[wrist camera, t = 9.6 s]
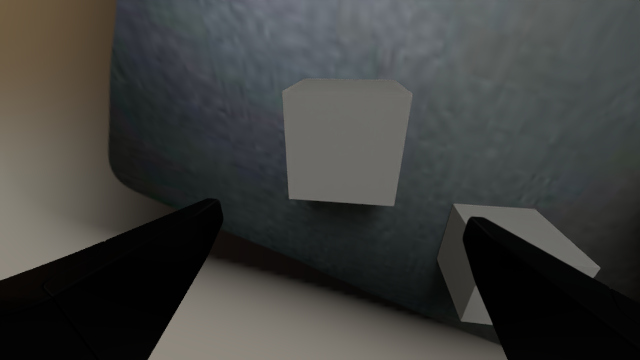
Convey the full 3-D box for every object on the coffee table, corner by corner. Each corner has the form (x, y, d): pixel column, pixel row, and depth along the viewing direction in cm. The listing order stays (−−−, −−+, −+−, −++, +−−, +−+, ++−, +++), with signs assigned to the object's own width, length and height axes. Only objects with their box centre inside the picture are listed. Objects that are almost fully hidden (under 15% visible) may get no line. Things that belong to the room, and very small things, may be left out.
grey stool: (534, 209, 21) (600, 268, 15) (507, 265, 24) (554, 331, 19) (453, 203, 22) (486, 257, 16) (436, 259, 25) (460, 321, 19)
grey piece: (394, 80, 18) (412, 94, 12) (383, 163, 21) (393, 206, 15) (304, 78, 19) (282, 91, 13) (306, 159, 22) (289, 198, 16)
